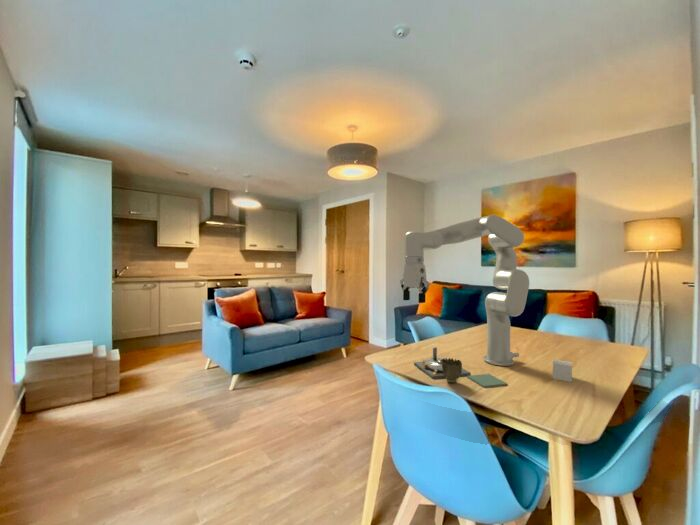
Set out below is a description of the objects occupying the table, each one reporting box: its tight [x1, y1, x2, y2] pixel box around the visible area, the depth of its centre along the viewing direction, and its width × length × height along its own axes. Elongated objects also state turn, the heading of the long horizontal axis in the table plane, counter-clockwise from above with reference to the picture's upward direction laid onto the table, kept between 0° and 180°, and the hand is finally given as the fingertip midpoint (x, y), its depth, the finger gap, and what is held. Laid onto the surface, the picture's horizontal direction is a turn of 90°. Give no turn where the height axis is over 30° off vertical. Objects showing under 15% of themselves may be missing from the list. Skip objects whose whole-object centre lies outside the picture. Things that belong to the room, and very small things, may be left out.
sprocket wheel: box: [421, 346, 449, 372], centre depth 127 cm, size 15×15×6 cm
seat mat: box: [466, 373, 508, 388], centre depth 115 cm, size 10×10×1 cm
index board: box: [413, 361, 471, 380], centre depth 127 cm, size 17×17×1 cm
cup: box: [441, 357, 463, 384], centre depth 113 cm, size 8×7×8 cm
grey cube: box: [552, 359, 573, 383], centre depth 118 cm, size 6×6×6 cm
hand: (414, 301), depth 128 cm, fingers open, 9 cm apart
